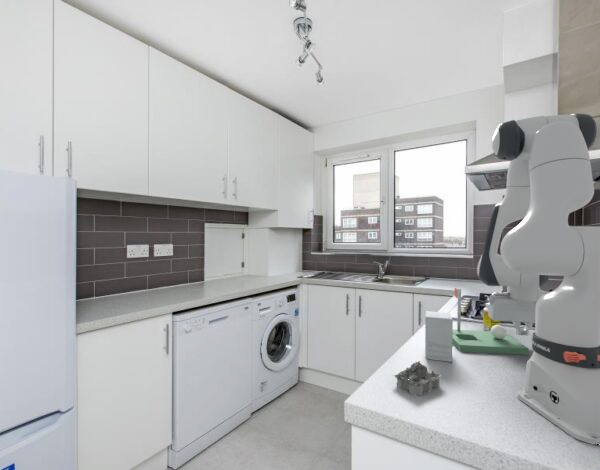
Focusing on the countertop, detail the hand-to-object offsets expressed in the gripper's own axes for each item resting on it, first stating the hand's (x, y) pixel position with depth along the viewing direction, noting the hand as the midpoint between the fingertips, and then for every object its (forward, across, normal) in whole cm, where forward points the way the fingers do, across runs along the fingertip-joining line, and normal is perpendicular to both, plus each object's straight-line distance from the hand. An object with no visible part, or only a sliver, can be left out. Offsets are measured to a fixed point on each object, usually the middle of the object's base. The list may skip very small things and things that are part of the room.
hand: (522, 334), depth 104 cm
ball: (-1, -7, 0) cm, 7 cm away
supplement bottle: (+4, -2, +16) cm, 17 cm away
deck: (+4, -12, +2) cm, 13 cm away
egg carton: (+4, -41, -33) cm, 52 cm away
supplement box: (+4, -30, -13) cm, 33 cm away
